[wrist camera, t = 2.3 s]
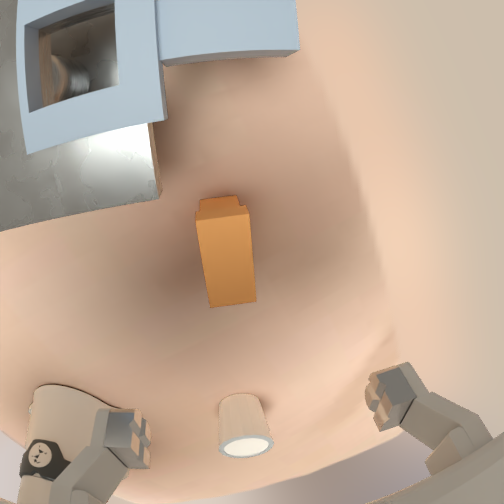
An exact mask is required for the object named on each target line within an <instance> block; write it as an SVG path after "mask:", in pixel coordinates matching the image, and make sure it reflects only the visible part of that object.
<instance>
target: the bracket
mask: <svg viewBox="0 0 504 504" xmlns="http://www.w3.org/2000/svg"><path fill="white" fill-rule="evenodd" d="M112 3H115V31H116V49H117V63H118V75H119V85H117V86H113V87H109V88H105V89H101V90H97V91H94V92H90V93H87V94H83V95H80V96H77V97H73V98H70V99H67V100H64V101H61V102H58V103H55V104H52V105H49V106H47V107H44V108H43V102H42V93H41V82H40V67H39V38H38V30H39V29H41V28H43V27H46V26H48V25H50V24H53V23H55V22H58V21H60V20H63V19H66V18H68V17H71V16H74V15H77V14H80V13H83V12H86V11H89V10H92V9H95V8H98V7H102V6H105V5H109V4H112ZM299 50H300V44H299V32H298V22H297V11H296V2H295V0H18V5H17V22H16V64H17V82H18V94H19V104H20V113H21V121H22V128H23V134H24V140H25V146H26V151H27V155H28V154H31V153H34V152H37V151H40V150H43V149H46V148H49V147H53V146H56V145H59V144H62V143H66V142H69V141H73V140H77V139H80V138H84V137H88V136H92V135H96V134H100V133H104V132H108V131H112V130H117V129H121V128H126V127H131V126H136V125H141V124H146V123H151V122H157V121H163V120H166V119H168V114H167V105H166V95H165V85H164V75H163V64H164V65H165V66H166V67H169V66H175V65H181V64H189V63H196V62H205V61H214V60H225V59H239V58H258V57H287V56H289V55H291V54H293V53H295V52H297V51H299ZM162 63H163V64H162Z"/></svg>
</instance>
